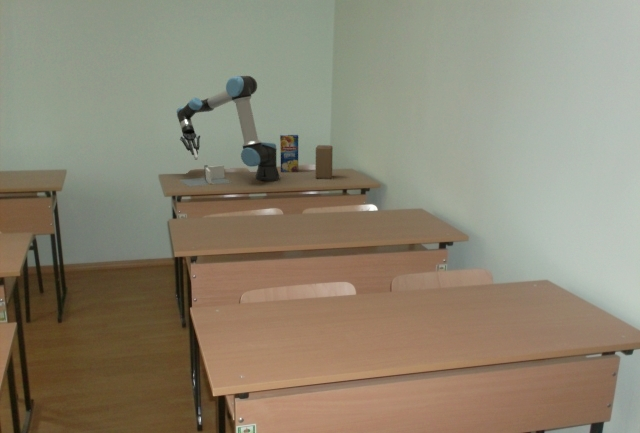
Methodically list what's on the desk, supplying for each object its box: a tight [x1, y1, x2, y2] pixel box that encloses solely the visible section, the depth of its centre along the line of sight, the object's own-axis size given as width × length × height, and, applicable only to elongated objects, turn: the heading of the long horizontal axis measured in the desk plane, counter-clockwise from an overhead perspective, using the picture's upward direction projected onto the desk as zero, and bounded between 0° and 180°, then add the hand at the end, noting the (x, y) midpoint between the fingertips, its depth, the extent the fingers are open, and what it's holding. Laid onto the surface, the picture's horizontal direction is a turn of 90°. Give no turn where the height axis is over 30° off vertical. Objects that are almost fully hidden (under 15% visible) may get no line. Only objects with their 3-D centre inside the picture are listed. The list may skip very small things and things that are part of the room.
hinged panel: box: [204, 168, 212, 185], centre depth 382 cm, size 13×1×8 cm, turn 19°
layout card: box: [179, 177, 233, 187], centre depth 386 cm, size 27×22×1 cm
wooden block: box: [315, 144, 333, 180], centre depth 400 cm, size 10×10×20 cm
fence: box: [203, 164, 225, 180], centre depth 391 cm, size 12×2×9 cm, turn 117°
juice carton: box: [279, 134, 299, 173], centre depth 420 cm, size 12×8×24 cm, turn 94°
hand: (196, 158), depth 386 cm, fingers closed
